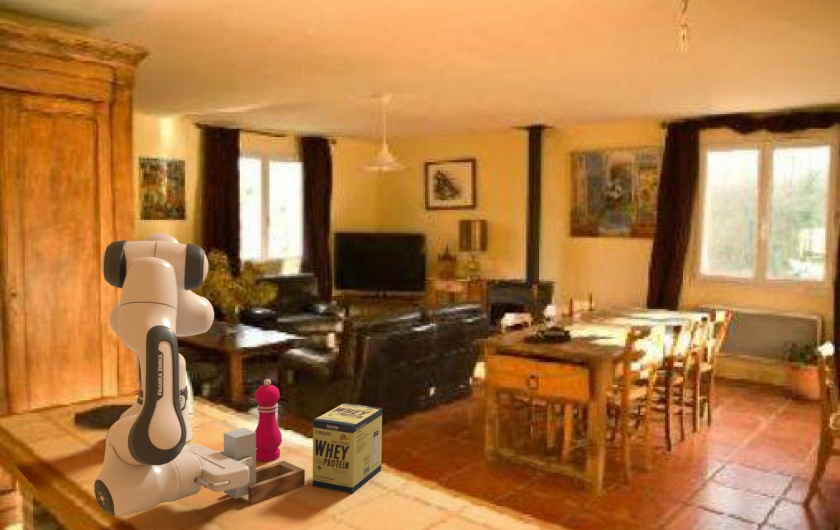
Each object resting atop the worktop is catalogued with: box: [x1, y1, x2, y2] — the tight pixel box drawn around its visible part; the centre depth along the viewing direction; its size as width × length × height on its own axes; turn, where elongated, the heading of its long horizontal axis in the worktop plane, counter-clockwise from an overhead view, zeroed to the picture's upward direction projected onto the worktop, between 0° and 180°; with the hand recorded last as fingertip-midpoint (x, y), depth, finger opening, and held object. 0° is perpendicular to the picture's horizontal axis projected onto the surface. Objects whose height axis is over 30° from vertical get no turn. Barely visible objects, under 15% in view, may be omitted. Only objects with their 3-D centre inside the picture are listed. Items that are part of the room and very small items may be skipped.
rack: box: [247, 460, 306, 505], centre depth 147 cm, size 14×8×4 cm, turn 138°
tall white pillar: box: [223, 427, 257, 499], centre depth 142 cm, size 5×4×13 cm
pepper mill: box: [254, 378, 283, 462], centre depth 166 cm, size 7×7×20 cm
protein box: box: [312, 402, 383, 494], centre depth 154 cm, size 10×16×16 cm
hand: (243, 456), depth 142 cm, fingers closed on tall white pillar, 4 cm apart
